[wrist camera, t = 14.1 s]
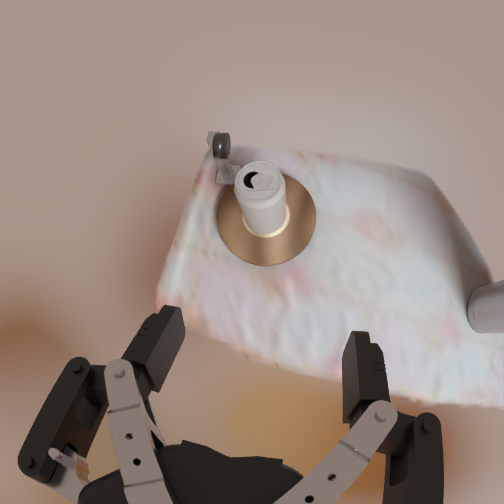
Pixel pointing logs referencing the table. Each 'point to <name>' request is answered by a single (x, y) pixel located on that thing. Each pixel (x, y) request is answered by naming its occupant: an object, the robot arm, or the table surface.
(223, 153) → the stand
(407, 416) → the robot arm
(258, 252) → the disc
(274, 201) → the beverage can
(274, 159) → the table surface
